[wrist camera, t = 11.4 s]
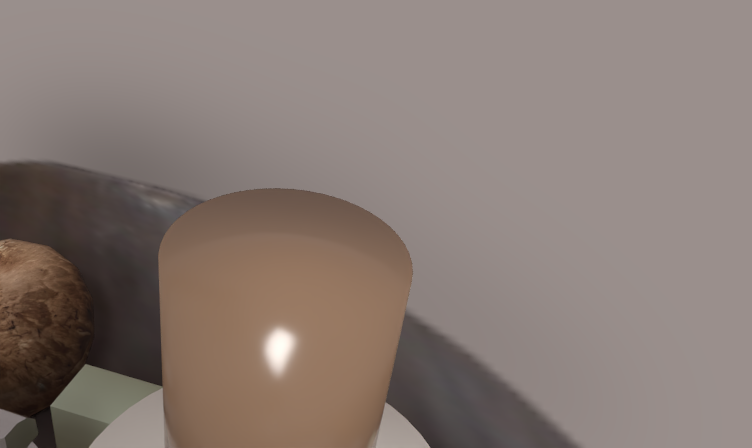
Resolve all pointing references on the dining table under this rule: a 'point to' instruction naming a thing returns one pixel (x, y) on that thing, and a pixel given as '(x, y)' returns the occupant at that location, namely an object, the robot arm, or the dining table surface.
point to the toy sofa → (94, 404)
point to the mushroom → (40, 325)
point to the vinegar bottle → (275, 328)
